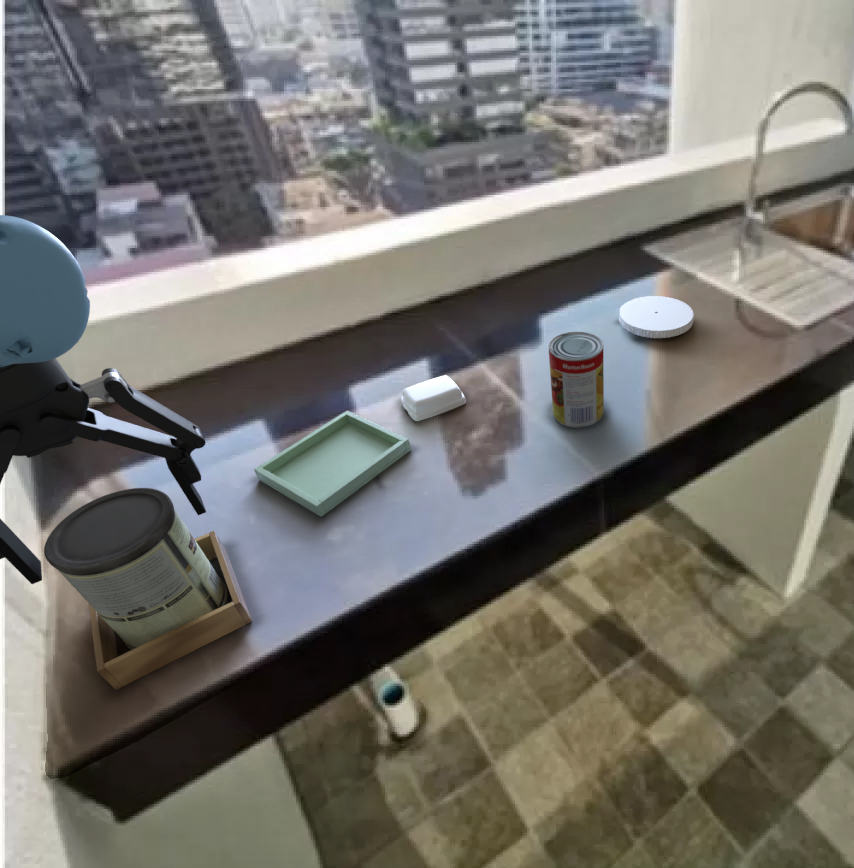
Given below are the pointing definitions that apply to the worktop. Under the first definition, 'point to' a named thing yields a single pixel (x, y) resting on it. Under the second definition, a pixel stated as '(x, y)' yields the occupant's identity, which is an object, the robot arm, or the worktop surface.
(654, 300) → the plastic lid
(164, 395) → the worktop surface
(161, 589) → the coffee can
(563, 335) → the canned food
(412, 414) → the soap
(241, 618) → the can stand
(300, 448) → the tray
